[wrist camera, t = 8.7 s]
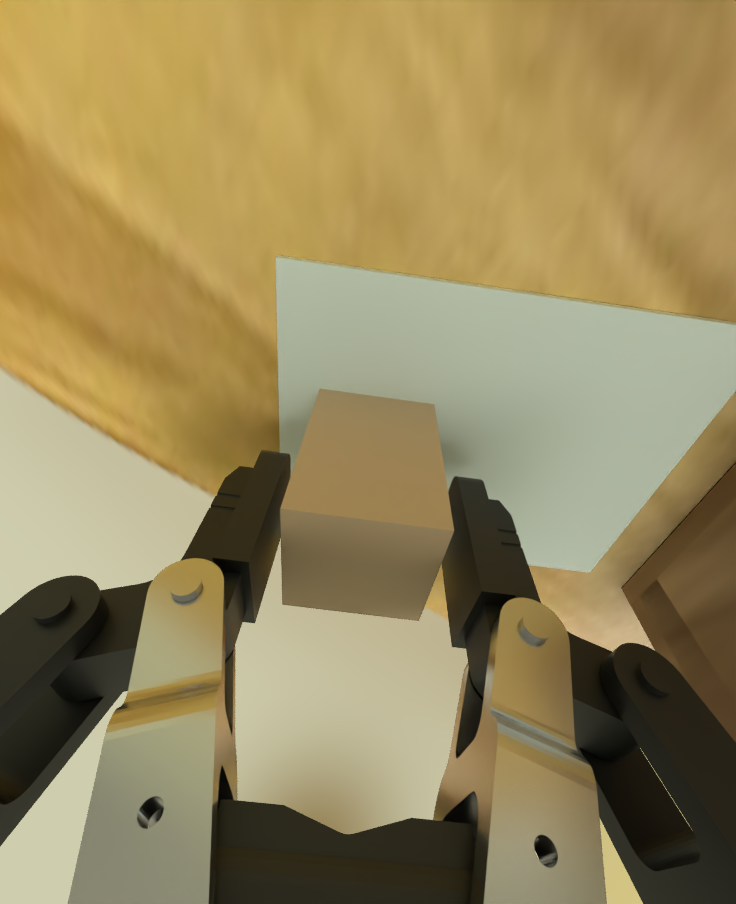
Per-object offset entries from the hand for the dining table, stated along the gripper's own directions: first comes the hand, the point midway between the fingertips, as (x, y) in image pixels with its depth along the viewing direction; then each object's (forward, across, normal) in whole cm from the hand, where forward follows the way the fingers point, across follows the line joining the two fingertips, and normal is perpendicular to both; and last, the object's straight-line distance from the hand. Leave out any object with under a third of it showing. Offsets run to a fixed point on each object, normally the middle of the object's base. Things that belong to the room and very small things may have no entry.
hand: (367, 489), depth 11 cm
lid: (+3, -4, 0) cm, 5 cm away
